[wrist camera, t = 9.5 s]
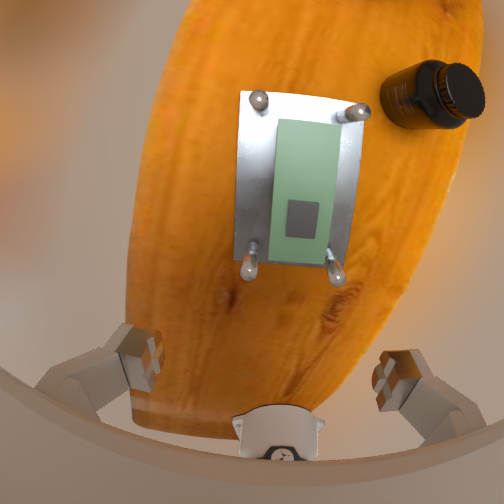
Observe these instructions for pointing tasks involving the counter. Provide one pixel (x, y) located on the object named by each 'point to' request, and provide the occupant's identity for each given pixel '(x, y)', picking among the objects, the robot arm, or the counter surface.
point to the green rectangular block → (303, 190)
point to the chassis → (262, 174)
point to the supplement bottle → (433, 95)
